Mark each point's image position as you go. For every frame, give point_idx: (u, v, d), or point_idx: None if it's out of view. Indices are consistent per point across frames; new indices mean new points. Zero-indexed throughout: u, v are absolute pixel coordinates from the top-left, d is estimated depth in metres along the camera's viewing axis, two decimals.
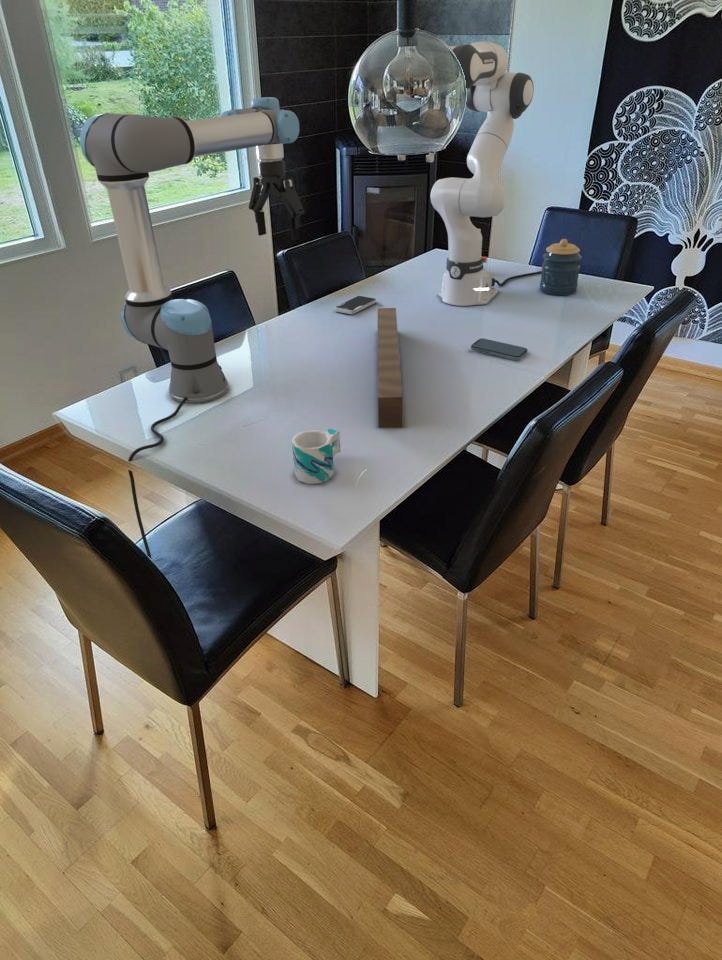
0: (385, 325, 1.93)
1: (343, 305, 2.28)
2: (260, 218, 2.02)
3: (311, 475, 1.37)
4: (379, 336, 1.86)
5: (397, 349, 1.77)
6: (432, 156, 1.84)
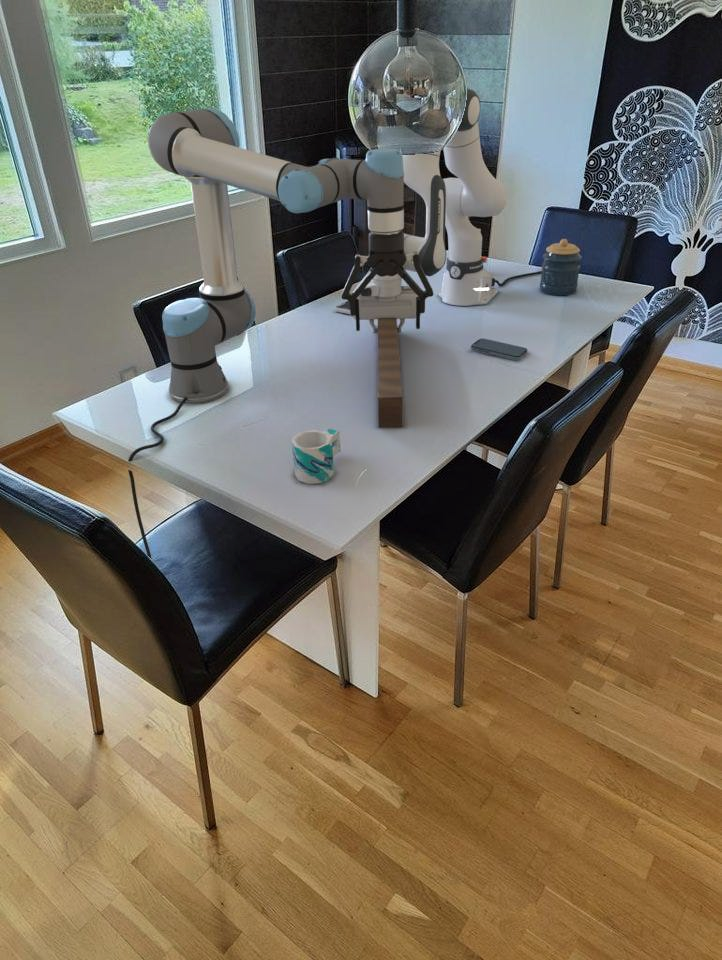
0: (385, 325, 1.93)
1: (343, 305, 2.28)
2: (358, 308, 1.50)
3: (311, 475, 1.37)
4: (379, 336, 1.86)
5: (397, 349, 1.77)
6: None
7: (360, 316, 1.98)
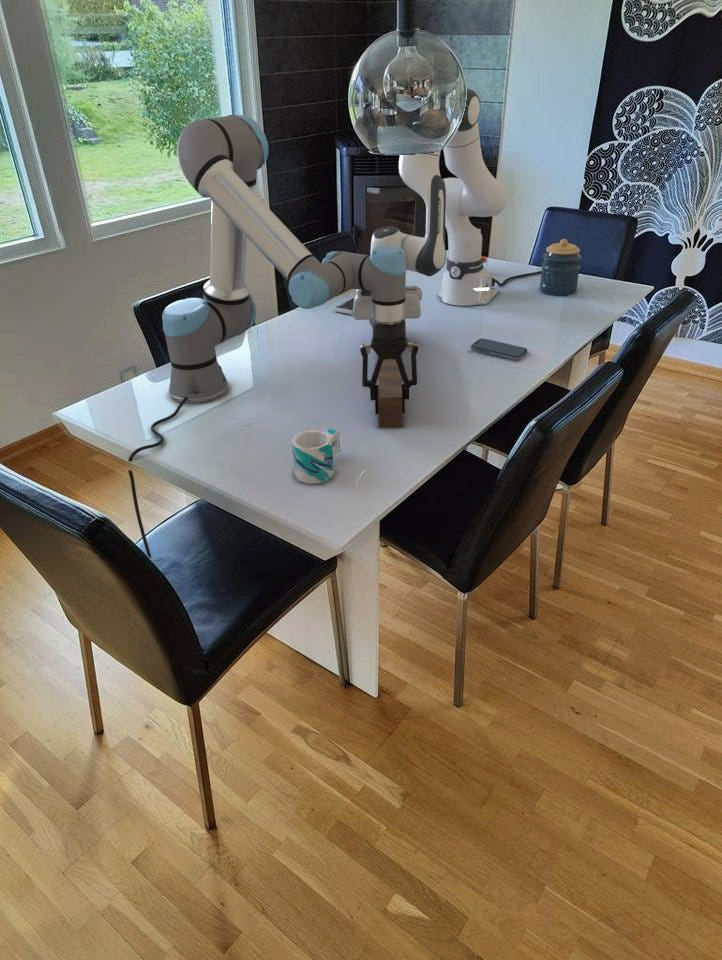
0: None
1: (343, 305, 2.28)
2: None
3: (311, 475, 1.37)
4: None
5: None
6: None
7: (360, 316, 1.98)
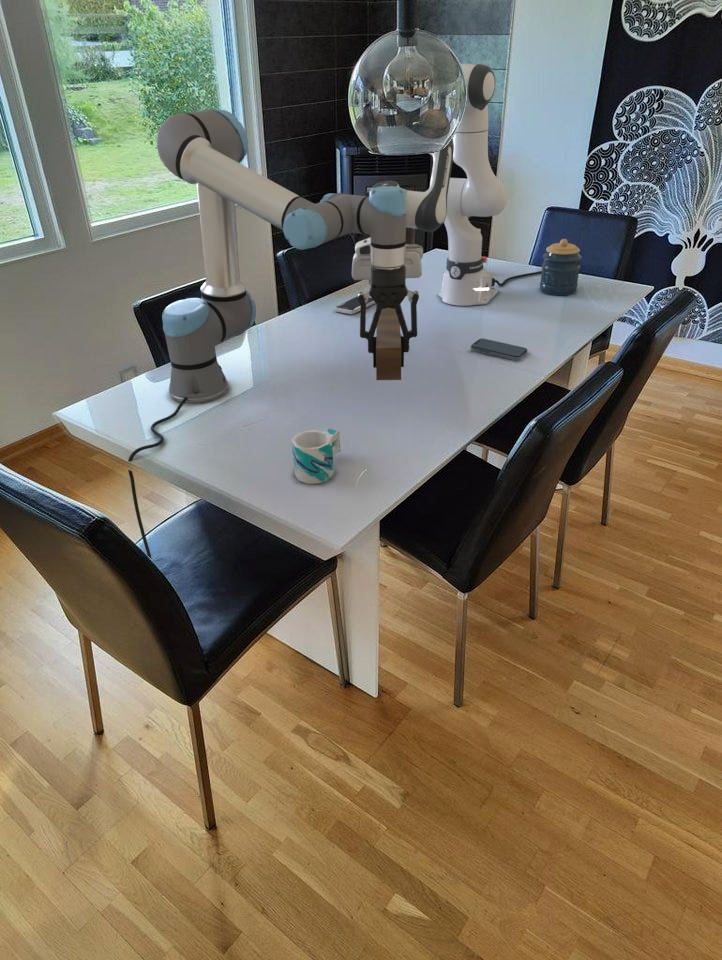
0: None
1: (343, 305, 2.28)
2: None
3: (311, 475, 1.37)
4: None
5: None
6: None
7: (359, 276, 1.92)
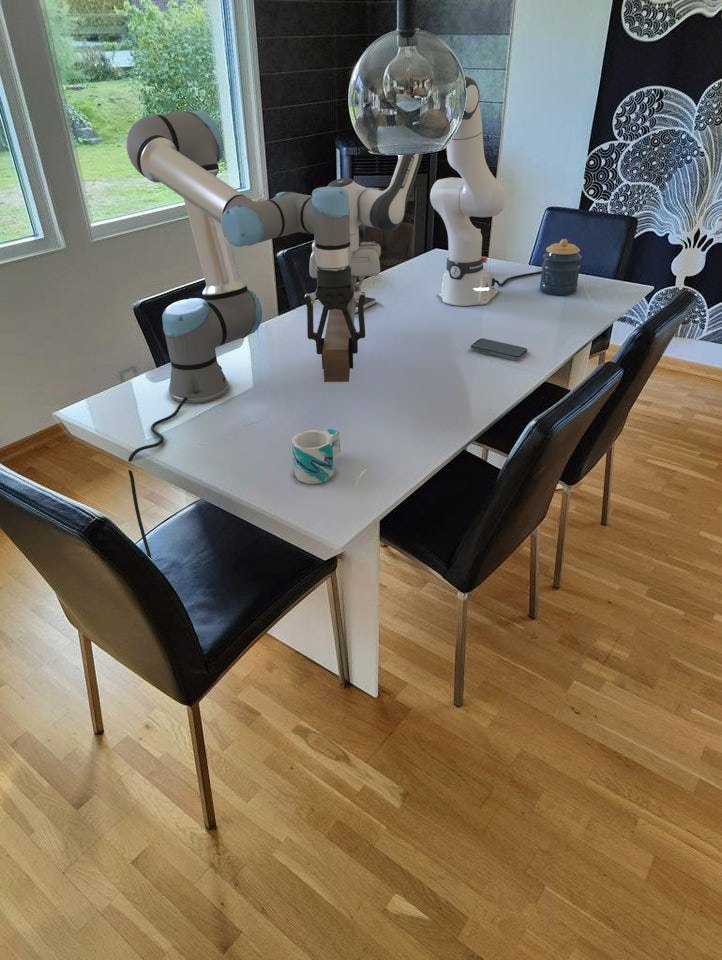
0: None
1: None
2: None
3: (311, 475, 1.37)
4: None
5: (350, 305, 1.70)
6: (360, 286, 1.94)
7: None
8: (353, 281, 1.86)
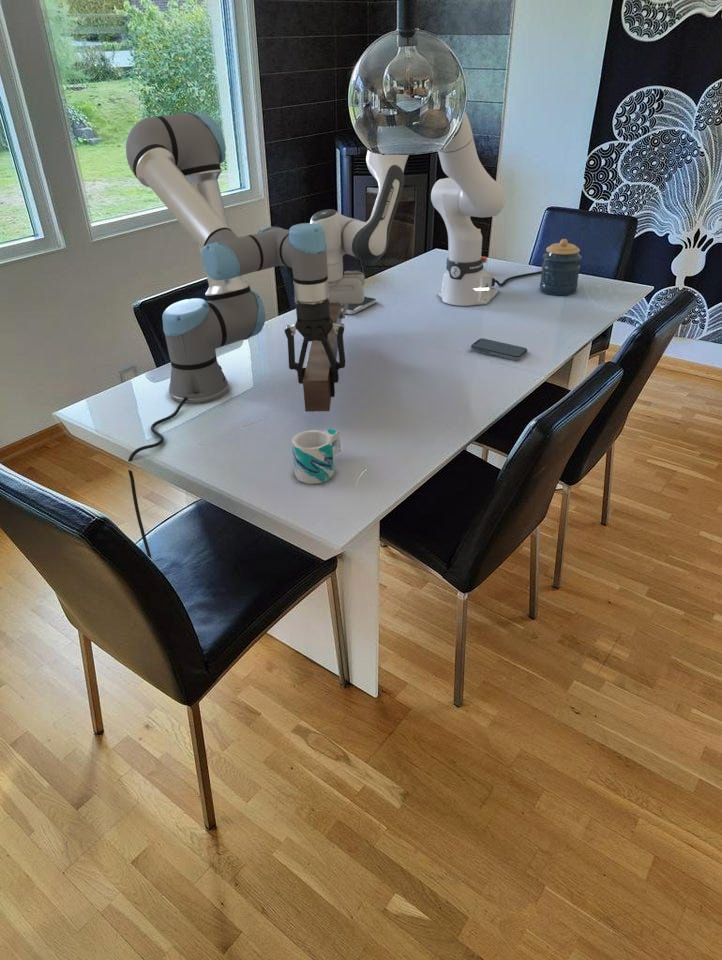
0: None
1: None
2: None
3: (311, 475, 1.37)
4: None
5: (333, 333, 1.74)
6: (344, 313, 1.98)
7: None
8: (337, 309, 1.90)
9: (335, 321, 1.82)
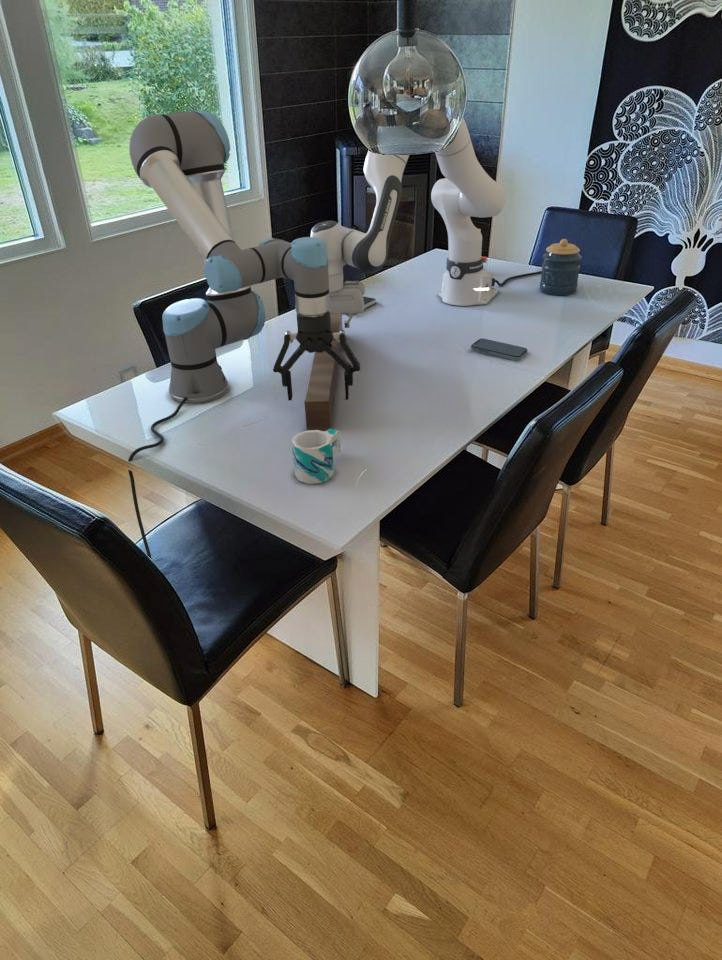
0: None
1: None
2: (290, 380, 1.58)
3: (311, 475, 1.37)
4: None
5: None
6: (349, 322, 2.00)
7: None
8: (338, 326, 1.93)
9: None
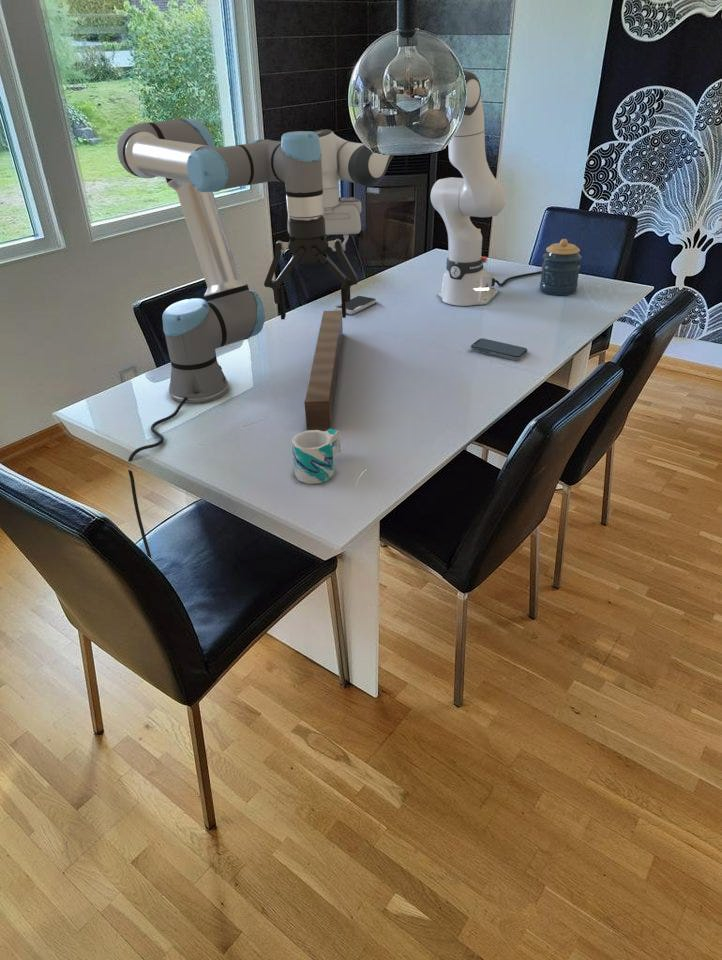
0: (327, 328, 1.92)
1: None
2: (282, 296, 1.47)
3: (311, 475, 1.37)
4: (319, 339, 1.85)
5: (334, 352, 1.77)
6: None
7: None
8: (338, 326, 1.93)
9: (336, 339, 1.85)
